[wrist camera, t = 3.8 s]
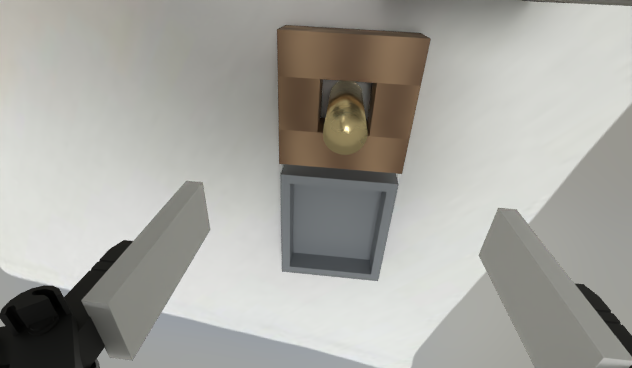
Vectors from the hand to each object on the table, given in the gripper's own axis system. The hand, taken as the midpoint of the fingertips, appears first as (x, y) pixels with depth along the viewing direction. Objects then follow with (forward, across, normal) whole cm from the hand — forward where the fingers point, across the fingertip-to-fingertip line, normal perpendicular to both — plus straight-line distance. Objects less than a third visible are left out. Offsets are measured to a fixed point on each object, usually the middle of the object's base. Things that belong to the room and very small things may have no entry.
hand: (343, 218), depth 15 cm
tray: (+20, 0, -14) cm, 25 cm away
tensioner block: (+20, 0, 0) cm, 20 cm away
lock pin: (+20, 0, 0) cm, 20 cm away
